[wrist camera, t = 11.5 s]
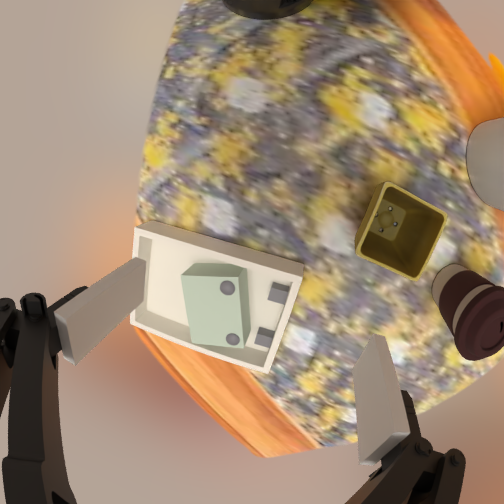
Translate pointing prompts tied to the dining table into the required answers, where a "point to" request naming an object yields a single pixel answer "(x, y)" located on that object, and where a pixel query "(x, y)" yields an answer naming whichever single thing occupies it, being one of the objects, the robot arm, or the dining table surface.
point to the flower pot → (399, 231)
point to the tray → (220, 252)
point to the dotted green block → (217, 304)
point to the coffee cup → (471, 311)
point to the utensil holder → (487, 162)
